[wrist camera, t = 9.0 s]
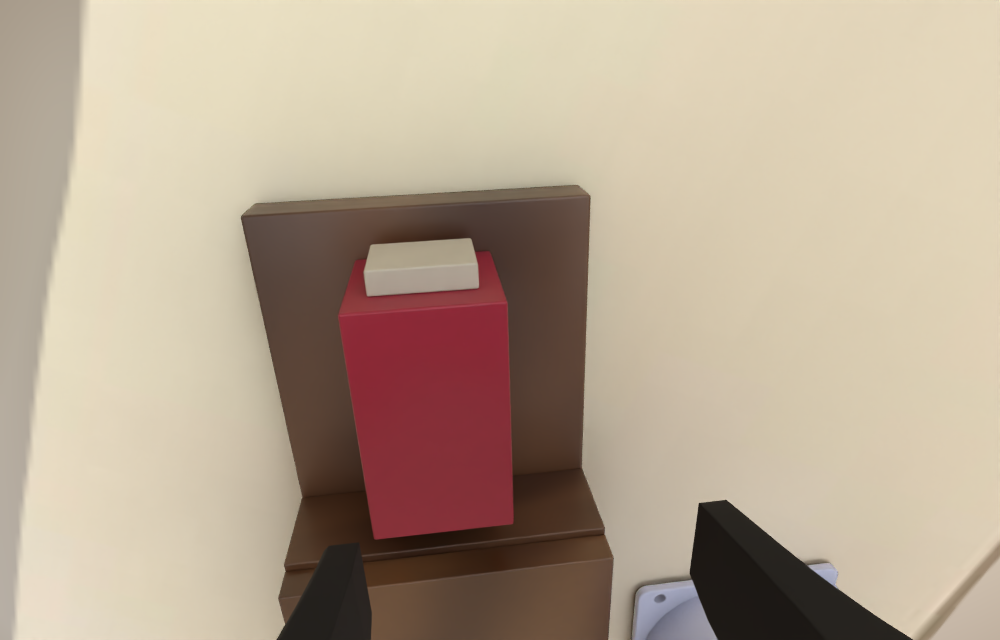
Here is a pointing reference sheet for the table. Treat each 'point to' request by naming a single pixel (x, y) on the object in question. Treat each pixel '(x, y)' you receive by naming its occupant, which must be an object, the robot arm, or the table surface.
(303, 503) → the step shelf
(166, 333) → the table surface
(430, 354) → the red box with cap
